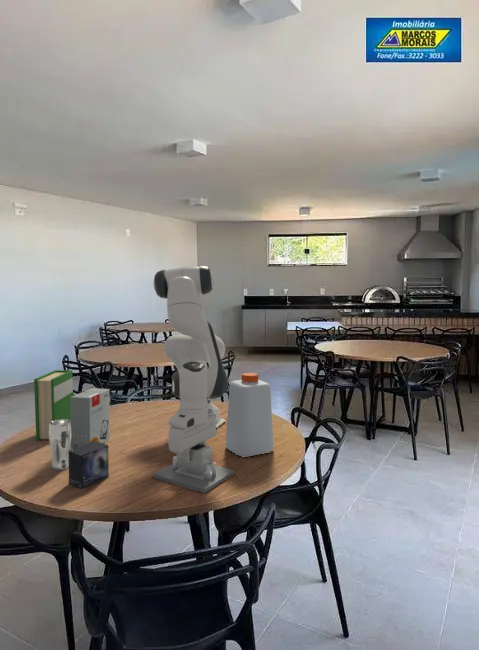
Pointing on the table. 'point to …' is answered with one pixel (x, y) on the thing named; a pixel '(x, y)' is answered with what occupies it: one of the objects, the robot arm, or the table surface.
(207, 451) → the block
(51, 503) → the table surface
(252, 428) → the plastic bottle
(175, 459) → the tray
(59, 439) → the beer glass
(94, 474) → the small box
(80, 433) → the hard drive box
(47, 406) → the hardback book
